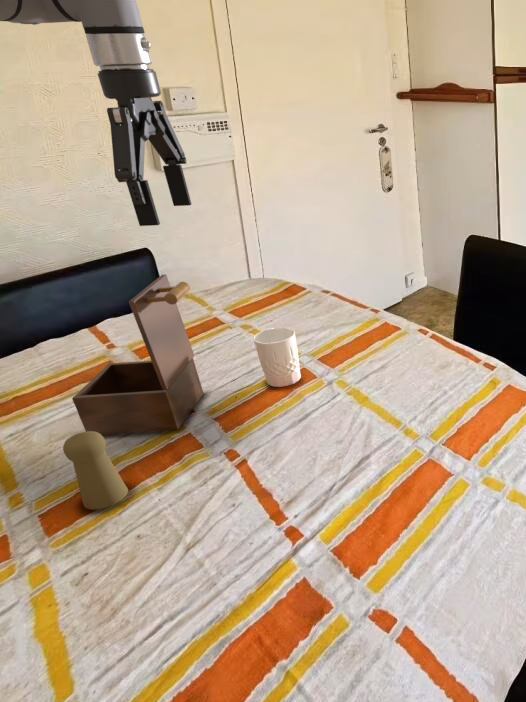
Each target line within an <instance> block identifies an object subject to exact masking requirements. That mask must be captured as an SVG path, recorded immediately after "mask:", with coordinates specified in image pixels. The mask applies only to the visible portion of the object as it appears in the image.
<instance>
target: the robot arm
mask: <svg viewBox="0 0 526 702" xmlns="http://www.w3.org/2000/svg"><path fill="white" fill-rule="evenodd" d="M0 22H8V23H11V24H21V25H33V26H36V25H40V24H55V23H71V22H75V23H81V25H82V28H83V31H84V34H85V38H86V41H87V45H88V48H89V51H90V55H91V59H92V62H93V65H95V66H96V67H99V69H100V70H98V73H97V77H98V80H99V84H100V87H101V91H102V93H103V95H104V97H105V98H106V99H110V100H115V101H116V102H117V107H107V108H106V113H107V117H108V120H109V125H110V136H111V148H112V158H113V170H114V177H115V179H116V181H117V182H118V183H126V185H127V190H128V192H129V195H130V199H131V203H132V206H133V209H134V212H135V215H136V219H137V221H138V225H139V227H147V226H148V227H149V226H160V225H161V222H160V218H159V215H158V212H157V208H156V204H155V201H154V198H153V194H152V190H151V188H150V185H149V184H150V183H149V180H147V179H144V173H145V172H144V171H145V151H146V149H145V148H146V142H147V141H149V142H150V144H151V145H152V147H153V149H154V150H155V151H156V153H157V154H158V155H159V157H160V158H161V160H162V161H163V163H164V165H163V166H162V169H163V172H164V176H165V179H166V183H167V186H168V190H169V194H170V198H171V201H172V205H173V207H185V206H186V207H187V206H192V200H191V196H190V193H189V189H188V185H187V181H186V178H185V173H184V170H183V166H182V165H186V164H187V157H186V155H185V152H184V150H183V148H182V145H181V143H180V141H179V139H178V137H177V134H176V132H175V130H174V128H173V126H172V123H171V122H170V119H169V117H168V115H167V113H166V108H165V106H164V105H165V104H164V103H163V101H162V100H153V99H152V98H156V97H160V96H161V94H162V91H161V87H160V84H159V80H158V76H157V72H156V71H155V70H154V69H153V68H150V65H153V59H152V55H151V51H150V49H151V48H152V43H151V42H150V41H148V40H147V35H146V33H145V32H146V31H145V29H144V25H143V22H142V18H141V15H140V9H139V6H138V3H137V0H0Z"/></svg>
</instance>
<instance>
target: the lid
mask: <svg viewBox="0 0 526 702" xmlns="http://www.w3.org/2000/svg"><path fill="white" fill-rule="evenodd" d="M190 290H191V288H190V285H189V284H188V283H187V282H185V281H180V282H178V283H177V284H176V285H174V286H171V284H170V280H169V278H168V276H167V274H166V273H165V274H161V275H160V276H158V277H157V278H156V279H155V280H153V281H152V282H151V283H149V284H148V286H146V287H145V288H144V289H142V290H141V291H140V292H139V293H137V294H136V295H135V296H134V297H132V298H131V299H130V300H129V301H128V304H129V307H130V309H131V312H132V315H133V318H134V319H135V322H136V325H137V328H138V331H139V333H140V335H141V337H142V340H143V343H144V345H145V349H146V350H147V353H148V356H149V358H150V361H152V364H153V366H154V369H155V371H156V374H157V377H158V379H159V382H160V384H161V387H162V389H163V390H167V389H168V388H169V386H170V385H171V384H172V383H173V382H174V380H175V379H176V378H177V377H178V375H179V374H180V373H181V372H182V370H183V369H184V368H185V367H186V366H187V364H188V363H189V362H190V361H191V359H192V358H193V359H194V357H195V353H194V350H193V347H192V345H191V341H190V339H189V336H188V333H187V331H186V327H185V325H184V322H183V318H182V316H181V313H180V310H179V307H178V302H179V301H180V300H182V298H183V297H185V295H186V294H187V293H189V291H190Z"/></svg>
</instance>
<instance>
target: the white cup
mask: <svg viewBox="0 0 526 702" xmlns="http://www.w3.org/2000/svg"><path fill="white" fill-rule="evenodd" d="M253 343H254V346H255V350H256V353H257V357H258V360H259V363H260V366H261V369H262V372H263V373H264V377H265V381H266V384H267V385H268V386H270V387H275V388H282V387H288V386H291V385H294V384H296V383H297V382H299V381H300V379H301V378H302V374H301V368H300V365H301V364H300V356H299V350H298V349H299V348H298V344H297V336H296V332H295V330H294V329H292V328H290V327H285V326H284V327H283V326H281V327H280V326H279V327H271V328H267V329H264V330H261V331H258V332H257V333H255V335H253Z"/></svg>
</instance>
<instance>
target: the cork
mask: <svg viewBox="0 0 526 702" xmlns="http://www.w3.org/2000/svg"><path fill="white" fill-rule="evenodd" d="M106 449H107V441H106V439H105V437H104V435H101V434H99V433H97V432H94V431H80V432H78V433H75V434H73V435H71V436H70V437H68V438H67V439H65V441H64V443H63V447H62V452H63V454H64V456H65V458H66V459H67V460H69V461H71V462H72V464H73V467H74V473H75V476H76V481H77V485H78V489H79V493H80V497H81V501H82V505H83V507H84V508H86V509H88V510H94V511H95V510H102V509H106V508H109V507H112V506H114V505H116V504H117V503H120V502H121V501H122V500H124V498H126V497H127V495H128V493H129V489H128V487H127V485H126V483H125V482H124V480H123V479H122V477H121V475H120V474H119V472H118V470H117V469H116V468H115V466H114V464H113V463H112V461H111V459H110V458H109V455H108V454H107V453H106Z"/></svg>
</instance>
